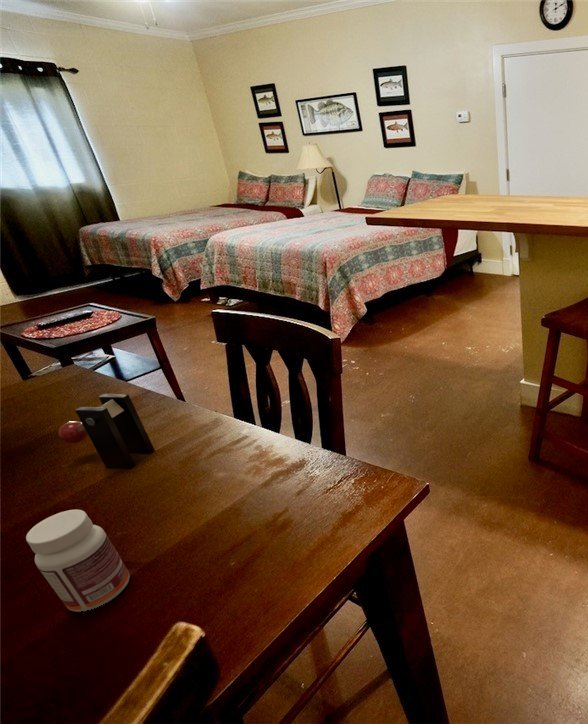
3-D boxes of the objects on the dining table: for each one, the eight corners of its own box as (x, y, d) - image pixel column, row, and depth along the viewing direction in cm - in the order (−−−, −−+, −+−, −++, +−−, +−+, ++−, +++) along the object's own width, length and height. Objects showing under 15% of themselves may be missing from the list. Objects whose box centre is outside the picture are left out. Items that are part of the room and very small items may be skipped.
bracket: (91, 478, 78) (54, 413, 72) (127, 452, 84) (96, 390, 79) (142, 480, 77) (109, 415, 72) (174, 453, 84) (146, 391, 78)
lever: (66, 450, 78) (47, 434, 77) (86, 437, 81) (68, 422, 80) (111, 423, 75) (93, 405, 73) (131, 410, 78) (113, 394, 77)
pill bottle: (140, 566, 62) (103, 501, 57) (115, 607, 57) (72, 539, 52) (85, 576, 61) (42, 511, 56) (54, 619, 56) (4, 551, 50)
